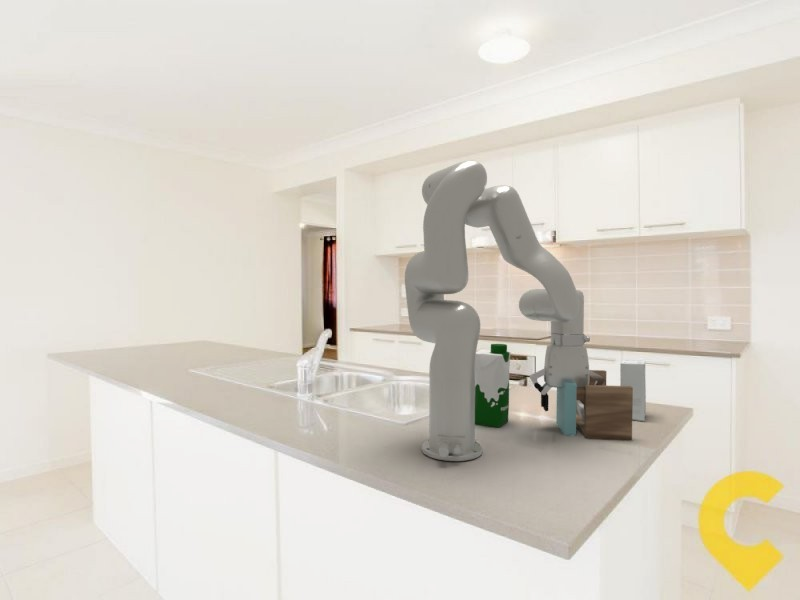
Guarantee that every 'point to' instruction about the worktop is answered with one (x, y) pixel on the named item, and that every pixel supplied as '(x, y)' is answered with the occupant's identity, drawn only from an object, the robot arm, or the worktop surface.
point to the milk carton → (492, 386)
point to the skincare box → (635, 385)
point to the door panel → (567, 408)
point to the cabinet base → (604, 410)
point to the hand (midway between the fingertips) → (566, 410)
